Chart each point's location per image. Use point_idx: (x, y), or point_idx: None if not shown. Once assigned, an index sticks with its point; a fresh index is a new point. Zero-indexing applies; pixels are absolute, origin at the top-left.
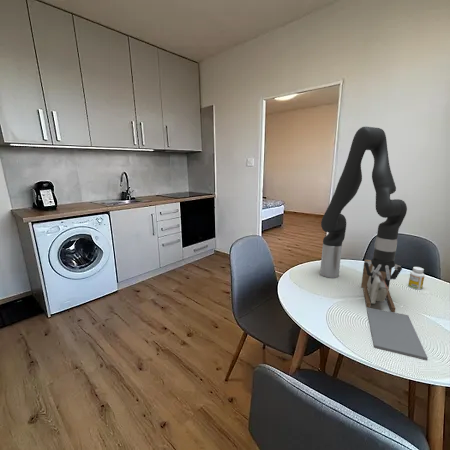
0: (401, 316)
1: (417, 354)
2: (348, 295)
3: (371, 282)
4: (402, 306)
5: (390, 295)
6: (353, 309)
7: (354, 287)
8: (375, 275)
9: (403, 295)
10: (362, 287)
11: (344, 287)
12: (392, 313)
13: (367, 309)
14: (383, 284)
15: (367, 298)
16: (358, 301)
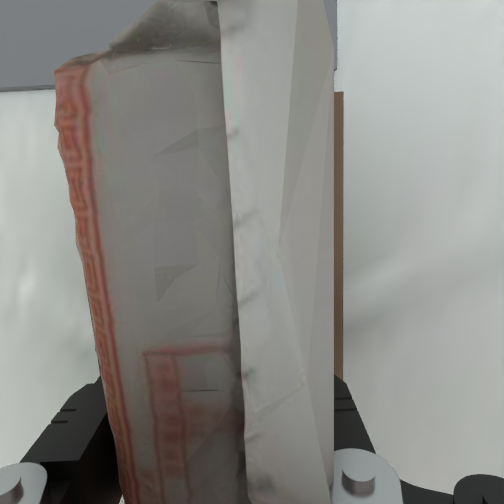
0: (17, 22)
1: None
2: (475, 291)
3: (338, 388)
4: (19, 286)
5: None
6: (461, 2)
7: (402, 471)
8: (330, 500)
9: None
10: None
11: (493, 435)
12: (98, 49)
13: (335, 19)
14: (138, 178)
15: None
16: (394, 207)
